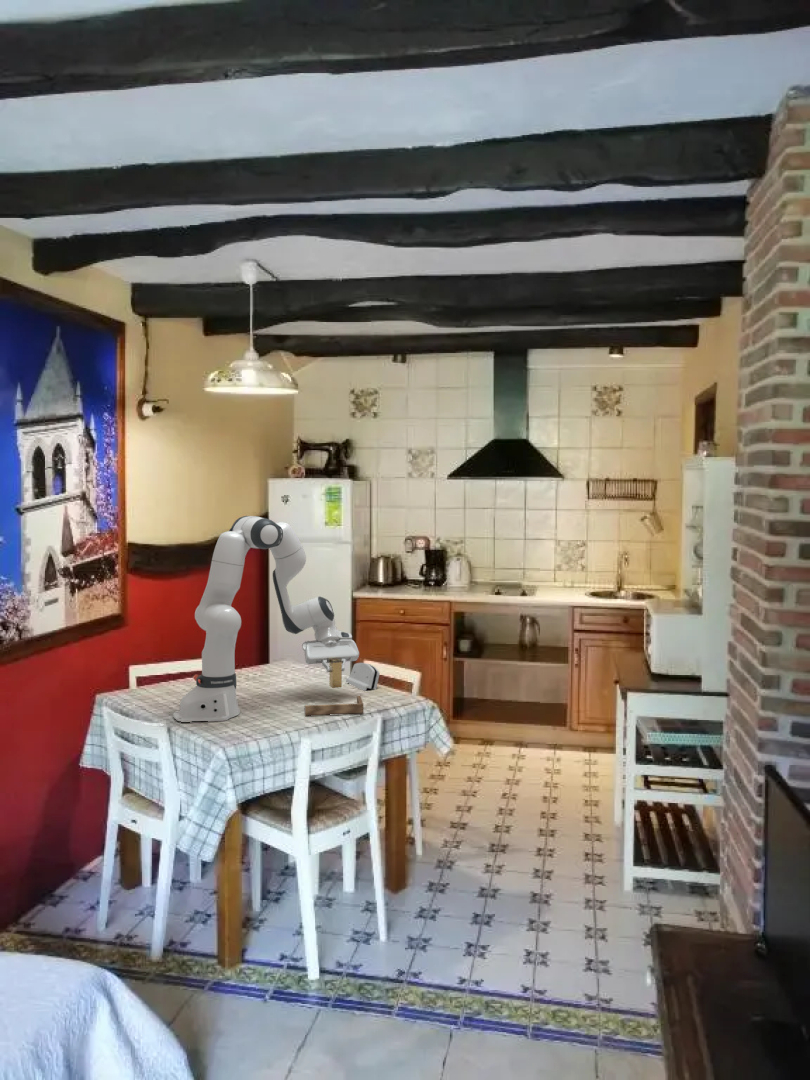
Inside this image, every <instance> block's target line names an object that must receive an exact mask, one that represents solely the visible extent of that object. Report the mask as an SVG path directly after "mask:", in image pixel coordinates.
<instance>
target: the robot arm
mask: <svg viewBox="0 0 810 1080" xmlns="http://www.w3.org/2000/svg"><path fill="white" fill-rule="evenodd" d="M251 548H252V549H261V550H267V549H268V550H270V552H271V554H272V557H273V560H274V561H275V569H274V570H273V571H272V580H273V586H274V589H275V590H274V591H275V594H276V598H277V602H278V605H279V609H280V613H281V619H282V624H283V627H284V629H285V630H286V631H287V632H289V633H291V634H293V635H297V634H299V633H301V632H304V631H305V630H307V629H310V628H312V629H313V631H314V639H315V640H305V641H304V642H303V643H302V645H301V646H302V650H303V652H304V661H305V663H306V664H307V665H315V664H316V665H319V664H321V665H322V667H323V668H324V669H325V671H326V673H330V672H331V671H332V668H331V666H330V659H336V658H339V659H341V660H342V672H344V671H345V670H346V669H345V663H346V662H347V663H348V662H355V661H357V660H358V659H359V656H360V651H359V648H358V646H357V643H356V642H355V641H354V640H353V635H352V633H350V632H344V631H341V630H339V629H338V628H337V627H336V619H335V613H334V610H333V606H332V604H331V602H330V601H329V600H328V599H327V598H325V597H322V596H315V597H313V598H310V599H308V600H306V601H303V602H301V603H299V604H296V605H292V604H291V600H290V596H289V594H288V589H287V587H288V584H289V583H290V582H291V581H292V580H293V579H294V578H296V576H297V575H299V573H301V571H302V570H303V568H304V566H305V565H306V562H307V554H306V552H305V548H304V546H303V545H302V543H301V540H300V539H299V537H298V535H297V533H296V531H295V530H294V529H293V527H292V526H291V525H290V524H289V523H287V522H284V521H279V522H275V521H274V520H272V519H269V518H266V517H260V516H258V515H257V516H255V515H244V516H241V517H238V518H237V519H236V520H235V521H234V522H233V524H232V525H231V528H230V529H229V530H228V531H224V532H221V533H220V535H219V537H218V539H217V542H216V544H215V547H214V550H213V553H212V558H211V562H210V569H209V572H208V578H207V583H206V586H205V589H204V591H203V595H202V596H201V599H200V602H199V605H197V607H196V608H195V612H194V619H195V621H196V624H197V625H198V626H199V628H200V629H201V630H203V631H205V633H206V634H205V641H204V647H203V649H202V651H201V674H200V675H199V674H196V673H195V674H194V675H193V677H192V679H193V680H194V681H195V683H196V684H195V685H196V686H194V688H192V689H191V690H189V692H186V694H185V695H184V696H182V698H181V700H180V705H179V709H178V710H175V711H174V712H173V715H172V717H174V718H175V719H176V720H178V721H181V722H186V721H208V722H222V721H223V722H224V721H228V720H229V719H231V718H234V717H237V716H238V715H240V714H241V711H240V707H239V703H238V698H237V692H236V691H237V681H238V680H237V673H236V672H235V671H236V669H235V667H236V665H235V663H236V662H235V659H236V658H235V653H236V652H235V650H236V643H237V638H238V633H239V631H240V629H241V627H242V618H241V615H240V614H239V612H238V611H237V610H236V608H234V607H232V603H233V601H234V598H235V596H236V594H237V593H238V592H239V590H240V588H241V583H242V578H243V573H244V567H245V561H246V559H245V558H246V556H247V553H248V552H249V550H250V549H251ZM174 718H173V719H174ZM176 720H175V721H176ZM181 722H180V723H181Z"/></svg>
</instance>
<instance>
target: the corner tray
mask: <svg viewBox="0 0 810 1080" xmlns="http://www.w3.org/2000/svg"><path fill="white" fill-rule="evenodd" d="M304 707H305V708H304V714H305V715H304V716H305V717H312V716H311V715H330V714H354V715H363V714H364V701H363V700H362V697H361V695H356V703H339V704H316V705H315V704H314V705H313V704H311V705H310V704H309V705H304ZM362 713H363V714H362ZM330 716H331V715H330Z"/></svg>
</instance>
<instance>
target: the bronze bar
mask: <svg viewBox="0 0 810 1080" xmlns="http://www.w3.org/2000/svg"><path fill="white" fill-rule="evenodd" d="M329 666H331V668H332V671H331V672H329V673H328V675H329V679H328V680H329V687H330V688H332V689H339V688H342V684H343V683H342V681H343V680H342V679H343V678H342V675H343V674H342V672H343V671H342V660H341V659H339V658H336V659H330V663H329Z"/></svg>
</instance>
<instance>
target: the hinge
mask: <svg viewBox="0 0 810 1080" xmlns="http://www.w3.org/2000/svg"><path fill="white" fill-rule="evenodd" d="M379 677H380V671H379V670H378V669H377V668H376V667H375V666H373V665H372V664H369V663H366V662H357V663H354V664H353V667H352V668H351V672H350V674H349V676H348V677H346V679H345V682H348V683H349V684H351V685H353V686H352V687H354V686H355V687H354V688H356V687H357V689H358V688H359V690H361V691H363V690H364V692H367V689H372V690H374V691H376V690H377V687H378V683H379ZM349 684H348V685H349ZM351 685H350V686H351ZM375 689H376V690H375Z"/></svg>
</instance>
